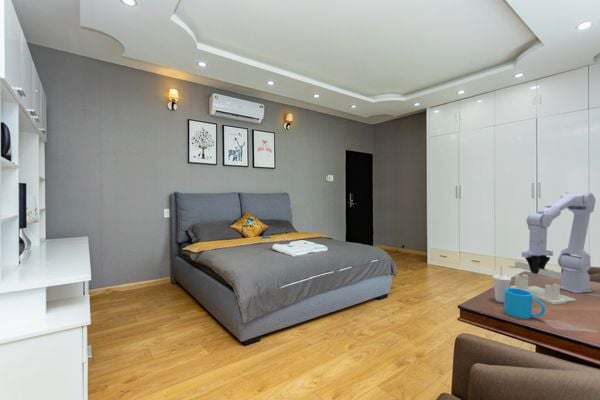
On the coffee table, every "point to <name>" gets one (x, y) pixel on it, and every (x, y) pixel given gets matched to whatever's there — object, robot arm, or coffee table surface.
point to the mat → (559, 295)
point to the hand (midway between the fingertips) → (536, 272)
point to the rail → (540, 270)
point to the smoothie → (500, 286)
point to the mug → (520, 303)
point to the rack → (549, 295)
